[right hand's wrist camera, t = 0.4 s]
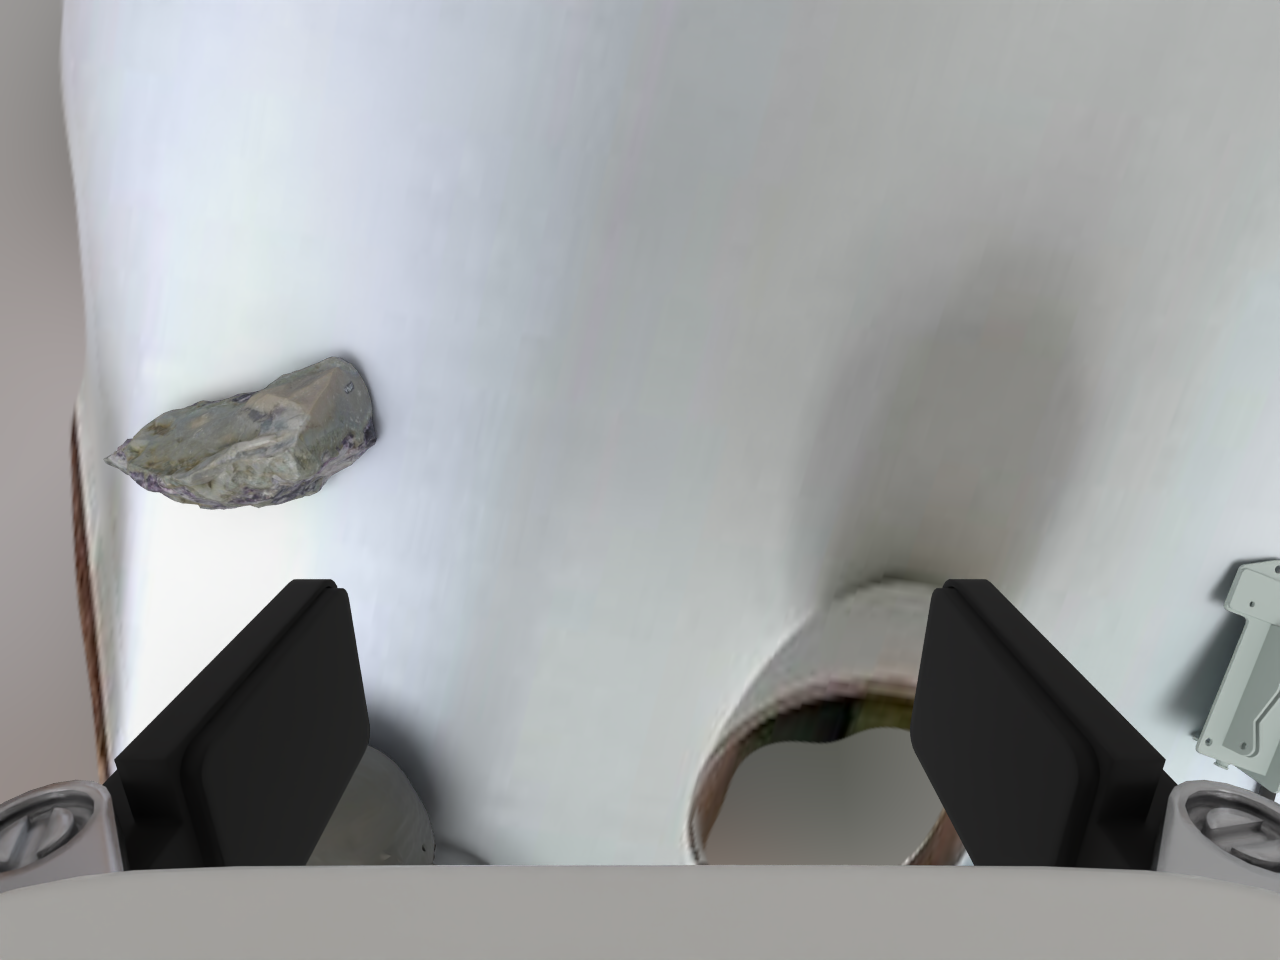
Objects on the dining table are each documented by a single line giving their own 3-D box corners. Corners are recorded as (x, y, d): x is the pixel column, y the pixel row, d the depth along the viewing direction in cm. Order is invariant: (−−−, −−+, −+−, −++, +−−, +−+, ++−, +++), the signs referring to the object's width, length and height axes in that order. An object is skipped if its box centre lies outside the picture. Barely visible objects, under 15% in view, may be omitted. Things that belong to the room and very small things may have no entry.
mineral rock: (154, 470, 42) (15, 539, 33) (168, 298, 39) (17, 320, 30) (363, 528, 44) (287, 610, 34) (394, 367, 40) (320, 409, 31)
